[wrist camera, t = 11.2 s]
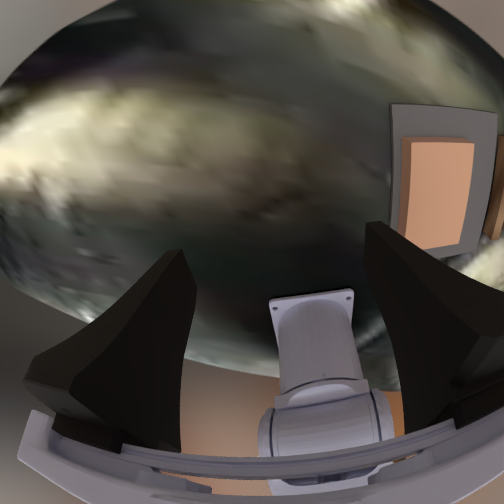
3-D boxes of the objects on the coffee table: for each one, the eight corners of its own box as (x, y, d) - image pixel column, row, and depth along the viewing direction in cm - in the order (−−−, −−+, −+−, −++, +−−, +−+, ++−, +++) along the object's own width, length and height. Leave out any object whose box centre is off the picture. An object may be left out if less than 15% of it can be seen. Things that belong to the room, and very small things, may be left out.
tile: (458, 243, 19) (402, 253, 20) (450, 234, 21) (396, 242, 21) (474, 143, 14) (411, 142, 15) (463, 137, 15) (401, 137, 16)
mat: (473, 248, 22) (475, 250, 21) (384, 264, 23) (385, 267, 23) (494, 112, 14) (497, 113, 13) (389, 103, 15) (391, 104, 15)
